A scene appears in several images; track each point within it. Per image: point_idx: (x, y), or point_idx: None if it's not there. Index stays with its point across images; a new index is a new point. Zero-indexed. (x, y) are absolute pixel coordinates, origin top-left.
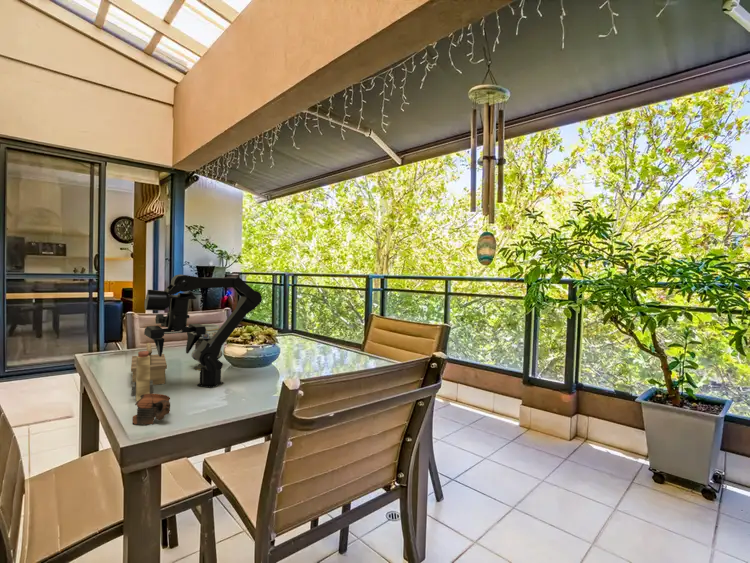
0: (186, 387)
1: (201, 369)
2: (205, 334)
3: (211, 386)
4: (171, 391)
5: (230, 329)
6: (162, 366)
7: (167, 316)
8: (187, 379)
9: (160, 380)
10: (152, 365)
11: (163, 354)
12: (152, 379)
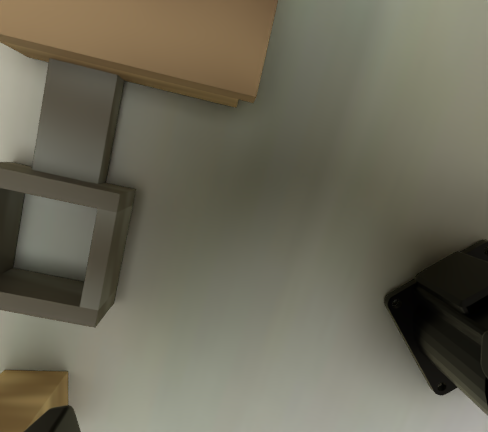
0: (320, 283)
1: (480, 338)
2: None
3: (436, 393)
4: (219, 315)
5: None
6: (213, 89)
7: None
8: (397, 87)
9: (206, 96)
10: (126, 3)
11: None
12: (148, 80)
